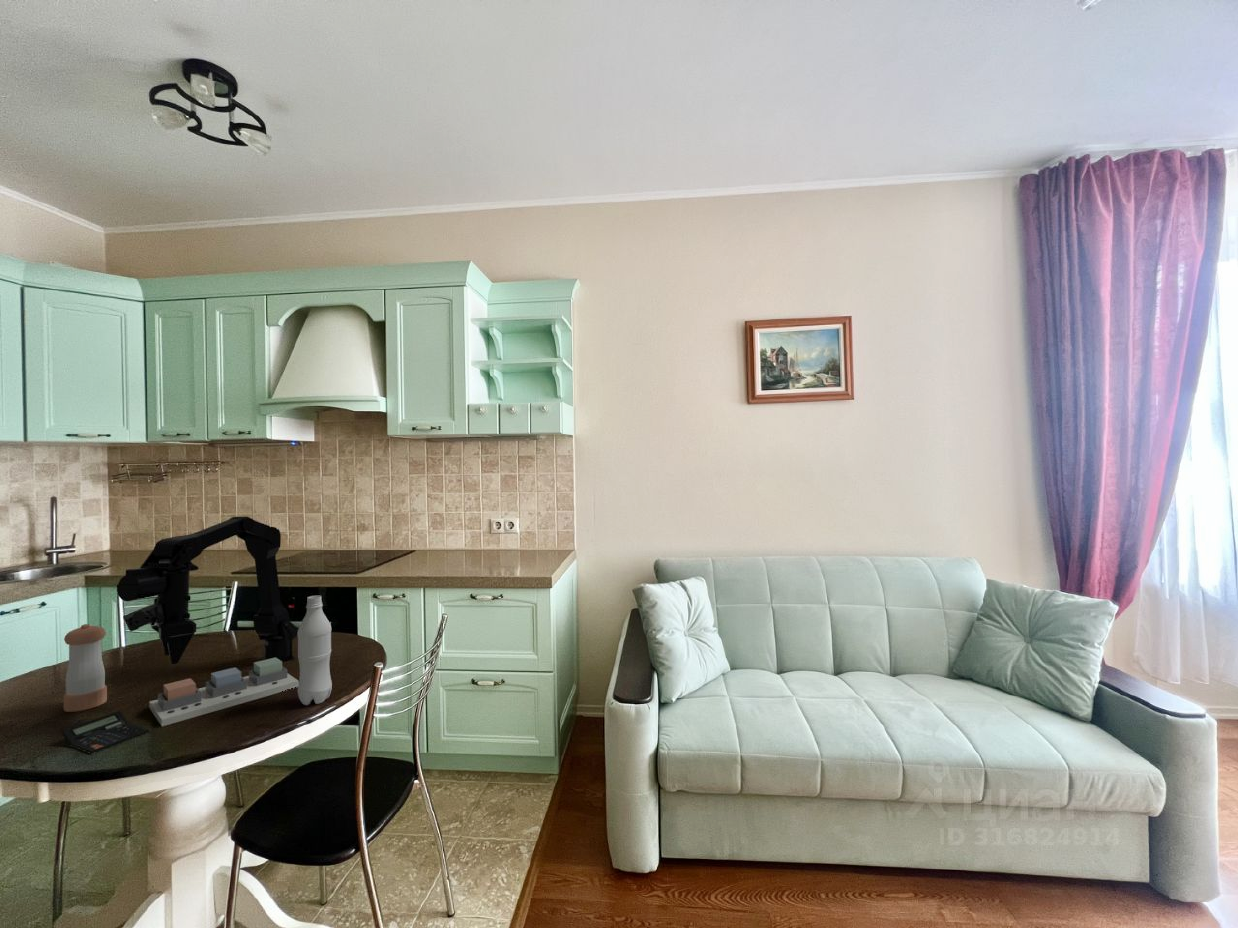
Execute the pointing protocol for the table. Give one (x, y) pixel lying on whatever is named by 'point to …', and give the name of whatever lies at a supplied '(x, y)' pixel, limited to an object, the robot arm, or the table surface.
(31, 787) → the table surface
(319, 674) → the water bottle
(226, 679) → the two dot button
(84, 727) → the calculator
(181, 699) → the button board
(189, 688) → the three dot button
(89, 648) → the pepper shaker
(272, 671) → the one dot button
